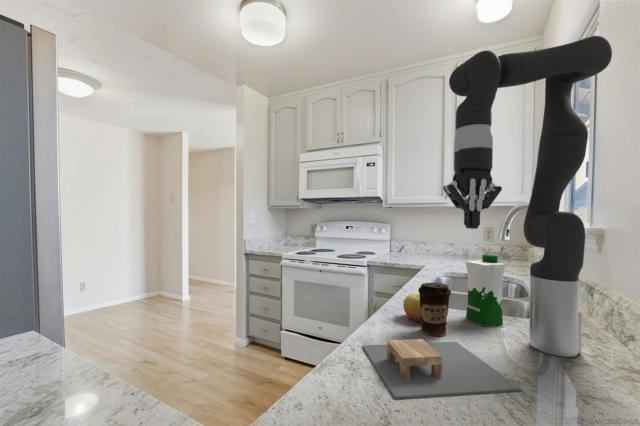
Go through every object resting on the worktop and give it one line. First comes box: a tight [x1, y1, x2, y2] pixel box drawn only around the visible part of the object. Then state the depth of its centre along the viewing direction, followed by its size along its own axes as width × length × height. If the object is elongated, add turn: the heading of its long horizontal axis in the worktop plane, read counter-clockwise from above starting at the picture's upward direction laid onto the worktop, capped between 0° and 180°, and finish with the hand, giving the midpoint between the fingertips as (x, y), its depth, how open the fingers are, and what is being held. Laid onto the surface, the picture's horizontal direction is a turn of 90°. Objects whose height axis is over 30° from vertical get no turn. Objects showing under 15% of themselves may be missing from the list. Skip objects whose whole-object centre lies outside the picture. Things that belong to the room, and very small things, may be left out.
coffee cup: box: [418, 282, 452, 337], centre depth 80 cm, size 9×8×13 cm
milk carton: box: [464, 254, 506, 327], centre depth 90 cm, size 9×9×20 cm
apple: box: [403, 293, 421, 323], centre depth 90 cm, size 10×10×8 cm
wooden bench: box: [387, 338, 442, 379], centre depth 60 cm, size 4×8×8 cm
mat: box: [362, 341, 522, 400], centre depth 62 cm, size 24×20×1 cm
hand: (471, 228), depth 64 cm, fingers closed
